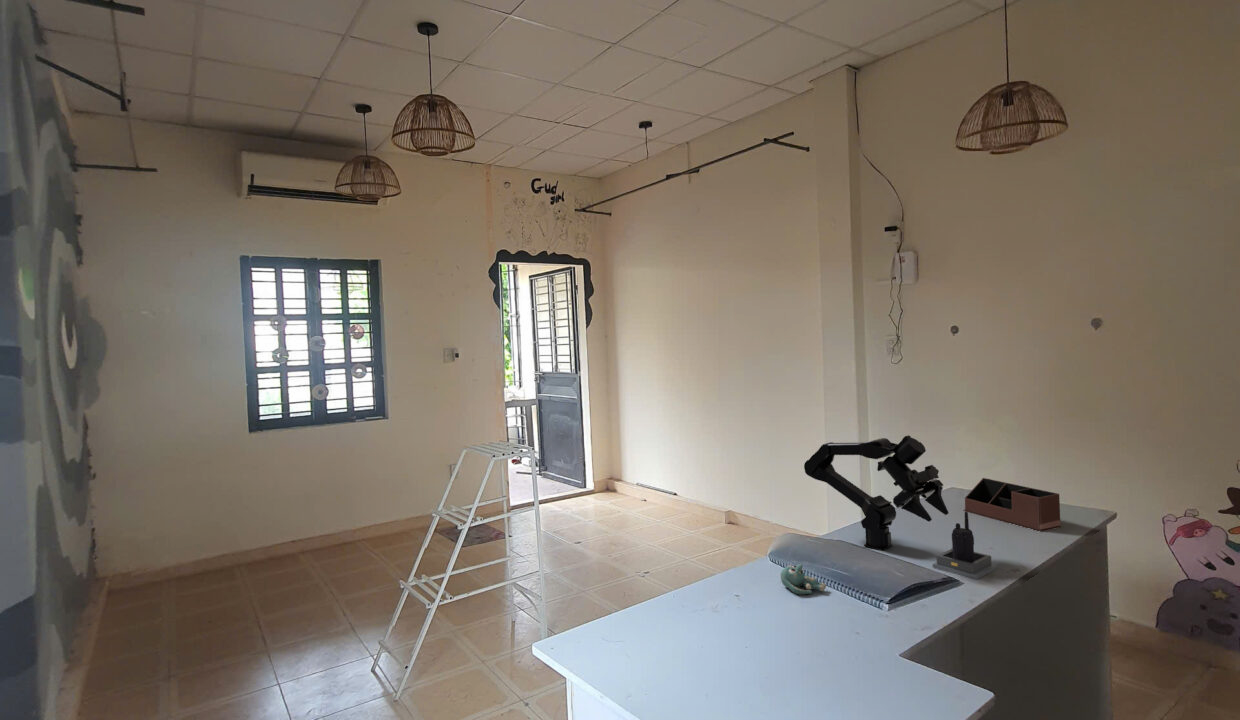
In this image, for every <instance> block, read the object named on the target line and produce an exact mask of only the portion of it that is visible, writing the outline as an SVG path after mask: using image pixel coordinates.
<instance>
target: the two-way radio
mask: <svg viewBox="0 0 1240 720" xmlns="http://www.w3.org/2000/svg"><path fill="white" fill-rule="evenodd" d="M951 532H952V533H951V544H952V545H951V546H952V548H953V559H957V560H961V561H965V562H970V563H972V562H974V552H975V551H974V550H975V549H974V547H975V546H974V545H975V540H974V539H975V538H974V537H975V536H974V534H973V531H972V529H970V524H969V512H966V511H964V528H962V527H961V524H960V523H955V527H954V528H953V530H952V531H951ZM952 548H951V549H952Z"/></svg>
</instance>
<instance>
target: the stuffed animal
mask: <svg viewBox="0 0 1240 720" xmlns="http://www.w3.org/2000/svg"><path fill="white" fill-rule="evenodd" d="M780 582H781V583H782V585H783V586H784V587H785V588H788V589H789V590H790V591H791V592H792V593H793V594H796V595H802V596H803V595H804V596H805V595H810V594H812V592H813V590H815V589H817V590H818V591H820V592H824V591H825V590H826V588H827V585H826V583H823V582H819V581H818V580H817V579H816V577H812V576H809V575H806V574H805V572H804V568H803V564H802V563H799V564H797V565H791V564H789V565H787V566H786V567H784V568H783V569H782V570H781V572H780ZM802 586H803V587H804V588H805V589H804V588H801V587H802Z"/></svg>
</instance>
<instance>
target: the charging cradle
mask: <svg viewBox="0 0 1240 720" xmlns="http://www.w3.org/2000/svg"><path fill="white" fill-rule="evenodd" d="M933 567H934V569H936V568H937V570H941V571H945V572H949V573H952V574H956V575H959V576H963V577H966V578H970V579H975V580H979V579H981V578H982V577H984V576H986V575H988V574H989V573H992V572H993V571H995V570H997V564H993V563H992V556H991V555H988V554H984V553H982V552H981V553H980V552H976V551H974V562H972V563H970V562H965V561H961V560H957V559H953V548H951V549H948V550H946V551H944V552H942V553H940V554H937V555H936V562H934V563H932V568H933Z"/></svg>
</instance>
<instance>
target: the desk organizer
mask: <svg viewBox="0 0 1240 720" xmlns="http://www.w3.org/2000/svg"><path fill="white" fill-rule="evenodd" d="M1060 503H1061V502H1060V493H1058V492H1057V493H1056V492H1053V491H1052V492H1051V491H1047V490H1044V489H1043V490H1042V489H1038V488H1033V487H1030V486H1023V485H1019V484H1016V483H1015V484H1014V483H1009V482H1005V481H1000V480H995V479H990V478H986V477H983V478H981V479H980V480H979V482H978V483H977V484H976V485H975V486H974V487H973V488H972V489H971V490H970V491H969V493H968V494H967V495H966V496H965V497H964V509H963V512H968V514H969V513H970V514H974V515H976V516H981V517H984V518H988V519H992V520H995V521H998V520H999V522H1002V521H1003V522H1002V523H1006V524H1009V523H1011V524H1010V525H1013V524H1015V525H1014V526H1016V525H1018V527H1020V526H1022V527H1021V528H1024V527H1025V529H1027V528H1030V529H1029V530H1031V529H1033V530H1032V531H1035V530H1036V532H1038V531H1040V532H1039V533H1041V531H1043V532H1047V531H1052V530H1055V529H1054V528H1056V529H1061V528H1063V526H1062V525H1061V505H1060ZM1060 527H1061V528H1060ZM1051 529H1052V530H1051ZM1046 530H1047V531H1046Z"/></svg>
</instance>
